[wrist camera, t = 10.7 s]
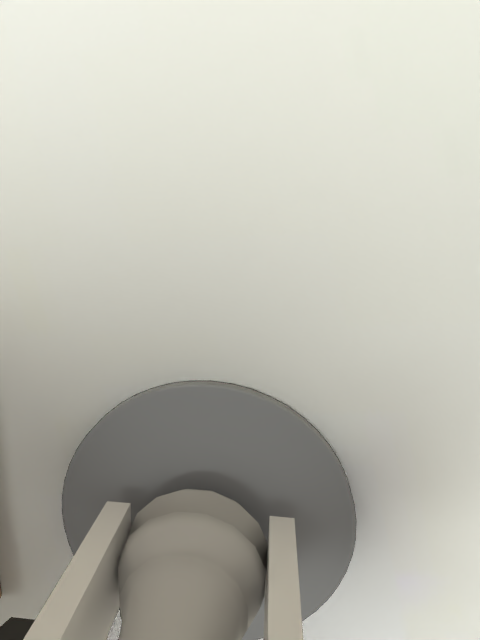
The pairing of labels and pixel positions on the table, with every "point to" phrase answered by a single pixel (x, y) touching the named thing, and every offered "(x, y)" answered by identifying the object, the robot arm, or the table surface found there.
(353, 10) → the table surface
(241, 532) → the rook chess piece
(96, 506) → the pad
